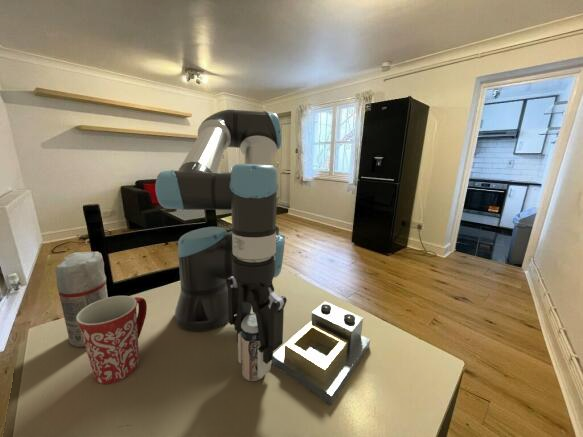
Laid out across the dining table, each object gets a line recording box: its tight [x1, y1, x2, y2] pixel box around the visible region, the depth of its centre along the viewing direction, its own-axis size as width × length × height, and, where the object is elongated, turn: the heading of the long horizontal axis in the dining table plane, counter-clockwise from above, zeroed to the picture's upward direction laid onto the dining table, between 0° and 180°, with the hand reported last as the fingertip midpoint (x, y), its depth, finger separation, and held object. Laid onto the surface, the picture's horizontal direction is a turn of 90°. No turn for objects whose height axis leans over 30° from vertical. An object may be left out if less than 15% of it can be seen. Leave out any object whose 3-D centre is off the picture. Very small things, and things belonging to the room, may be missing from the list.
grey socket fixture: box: [271, 301, 371, 406], centre depth 53 cm, size 14×18×8 cm
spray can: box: [54, 251, 109, 348], centre depth 55 cm, size 8×8×20 cm
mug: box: [76, 295, 148, 385], centre depth 49 cm, size 13×9×14 cm
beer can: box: [241, 313, 261, 382], centre depth 47 cm, size 5×5×12 cm
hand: (254, 365), depth 48 cm, fingers closed on beer can, 5 cm apart
